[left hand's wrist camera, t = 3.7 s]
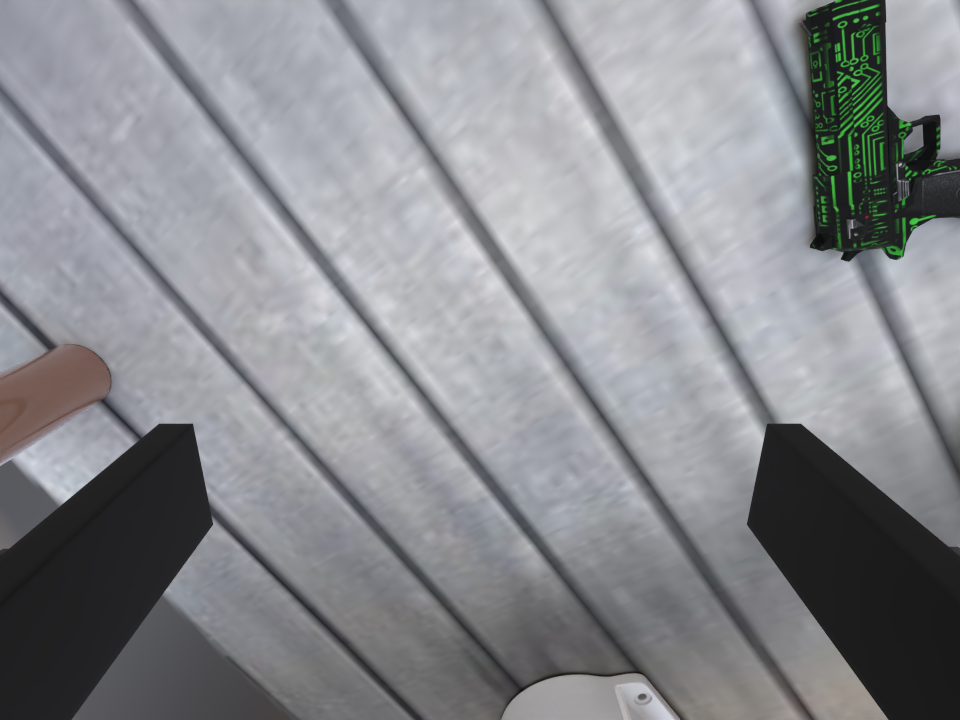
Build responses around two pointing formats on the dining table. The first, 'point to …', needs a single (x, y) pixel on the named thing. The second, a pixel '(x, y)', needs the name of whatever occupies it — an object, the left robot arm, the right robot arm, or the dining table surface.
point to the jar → (48, 395)
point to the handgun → (868, 140)
